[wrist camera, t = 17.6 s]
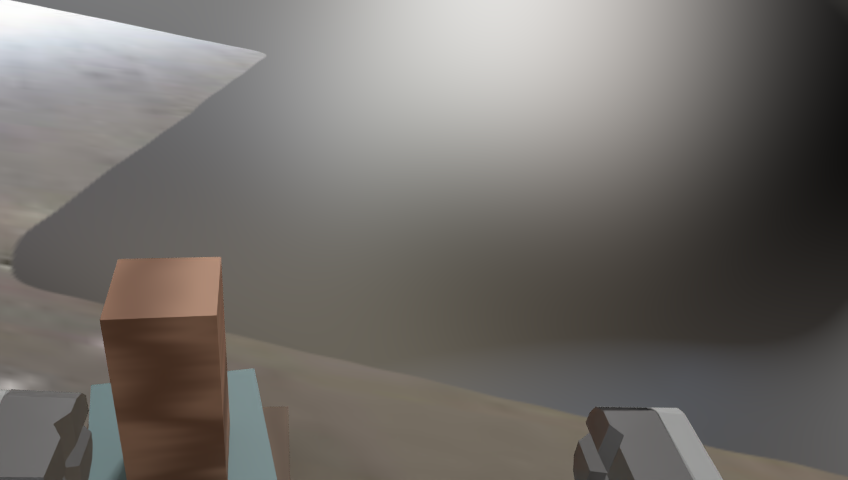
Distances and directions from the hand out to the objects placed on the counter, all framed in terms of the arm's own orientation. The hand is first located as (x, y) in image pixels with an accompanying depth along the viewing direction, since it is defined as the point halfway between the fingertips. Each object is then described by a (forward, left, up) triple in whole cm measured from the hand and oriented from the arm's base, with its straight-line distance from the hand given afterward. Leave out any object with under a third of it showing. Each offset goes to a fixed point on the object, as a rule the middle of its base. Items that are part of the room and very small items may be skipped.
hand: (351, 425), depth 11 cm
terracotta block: (+6, -21, -25) cm, 33 cm away
